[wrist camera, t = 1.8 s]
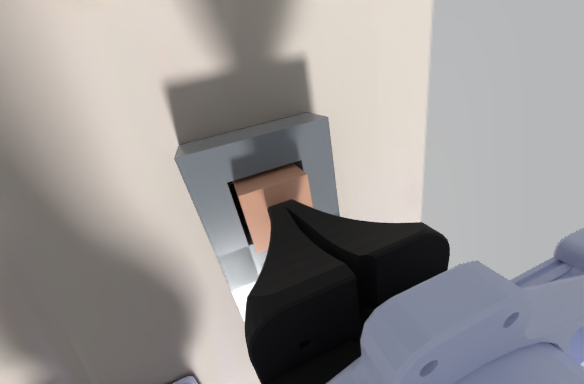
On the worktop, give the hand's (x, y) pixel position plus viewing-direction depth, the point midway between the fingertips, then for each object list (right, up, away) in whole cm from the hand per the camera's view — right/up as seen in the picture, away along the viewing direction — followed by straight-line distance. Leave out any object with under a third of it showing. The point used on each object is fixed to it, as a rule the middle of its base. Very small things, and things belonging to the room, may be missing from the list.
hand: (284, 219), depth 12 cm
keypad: (0, -4, +7) cm, 9 cm away
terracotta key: (-1, +1, +3) cm, 4 cm away
